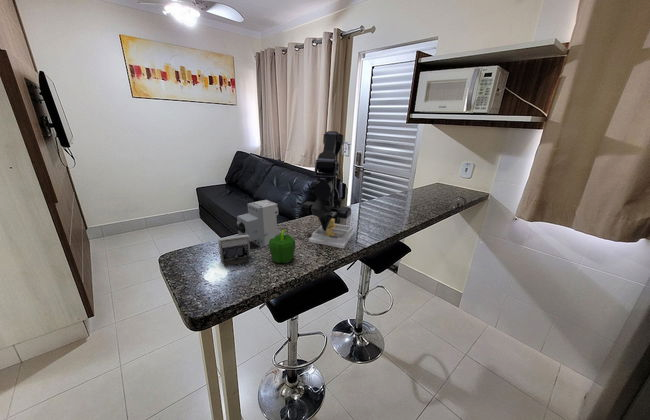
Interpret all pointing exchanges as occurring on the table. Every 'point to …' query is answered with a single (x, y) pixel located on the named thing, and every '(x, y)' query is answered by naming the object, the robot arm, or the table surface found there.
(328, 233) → the near tab
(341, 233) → the switch bank
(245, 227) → the circuit breaker
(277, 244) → the bell pepper
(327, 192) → the robot arm
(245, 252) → the electrical switch
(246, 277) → the table surface
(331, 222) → the far tab
